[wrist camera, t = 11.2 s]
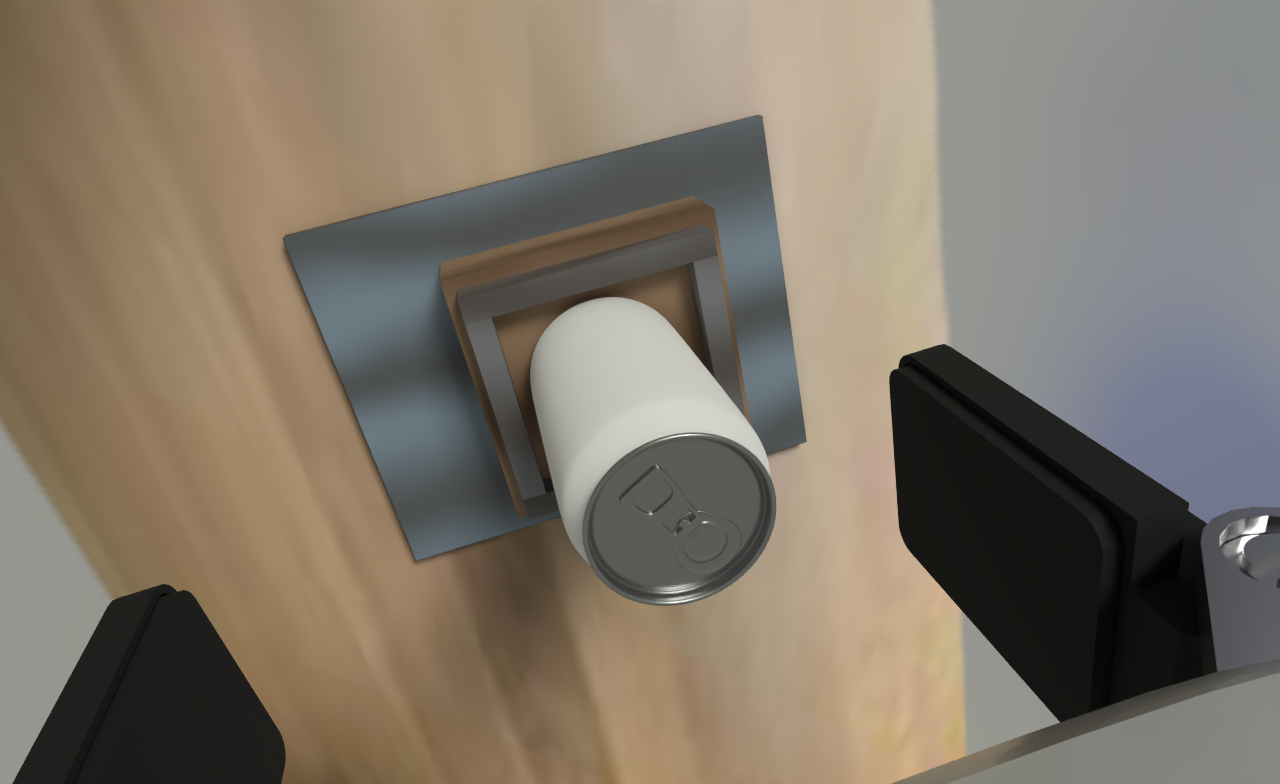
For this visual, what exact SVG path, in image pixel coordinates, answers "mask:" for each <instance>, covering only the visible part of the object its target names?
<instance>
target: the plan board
mask: <svg viewBox="0 0 1280 784" xmlns="http://www.w3.org/2000/svg"><path fill="white" fill-rule="evenodd" d="M283 241H284V243H285V246H286V248H287V251H288V253H289V255H290V258H291V260H292V263H293V265H294V267H295V270H296V272H297V275H298V277H299V279H300V282H301V284H302V287H303V289H304V291H305V294H306V296H307V299H308V301H309V303H310V306H311V308H312V311H313V313H314V316H315V318H316V320H317V323H318V325H319V328H320V330H321V332H322V335H323V337H324V340H325V342H326V344H327V347H328V349H329V352H330V354H331V356H332V359H333V361H334V364H335V366H336V369H337V371H338V373H339V376H340V378H341V381H342V383H343V385H344V388H345V390H346V393H347V395H348V397H349V400H350V402H351V405H352V407H353V409H354V412H355V414H356V417H357V419H358V421H359V424H360V426H361V429H362V431H363V434H364V436H365V438H366V441H367V443H368V446H369V448H370V450H371V453H372V455H373V458H374V460H375V462H376V465H377V467H378V470H379V472H380V474H381V477H382V479H383V482H384V484H385V487H386V489H387V491H388V494H389V496H390V499H391V501H392V503H393V506H394V508H395V511H396V513H397V515H398V518H399V520H400V523H401V525H402V527H403V530H404V532H405V535H406V537H407V539H408V542H409V544H410V547H411V549H412V552H413V554H414V556H415V559H416V561H417V560H420V559H423V558H427V557H430V556H433V555H436V554H440V553H443V552H446V551H450V550H453V549H456V548H459V547H463V546H466V545H469V544H473V543H476V542H479V541H482V540H486V539H489V538H492V537H496V536H499V535H502V534H505V533H509V532H512V531H515V530H519V529H522V528H525V527H528V526H532V525H535V524H538V523H542V522H545V521H548V520H551V519H555V518H558V517H561V514H560V511H559V507H558V503H557V499H556V495H555V491H554V487H553V482H552V478H551V474H550V470H549V466H548V462H547V457H546V453H545V449H544V445H543V441H542V436H541V432H540V428H539V423H538V419H537V415H536V410H535V406H534V401H533V397H532V391H531V385H530V366H531V360H532V356H533V353H534V350H535V347H536V345H537V343H538V341H539V339H540V337H541V336H542V334H543V333H544V331H545V330H546V329H547V328H548V326H549V325H550V324H551V323H552V322H553V321H554V320H555V319H556V318H557V317H559V316H560V315H561V314H562V313H564V312H565V311H567V310H568V309H570V308H572V307H574V306H576V305H578V304H580V303H583V302H586V301H589V300H592V299H597V298H604V297H620V298H627V299H631V300H635V301H638V302H641V303H643V304H645V305H647V306H649V307H651V308H652V309H654V310H655V311H657V312H658V313H659V314H661V315H662V316H663V317H664V318H665V319H666V320H667V321H668V322H669V323H670V324H671V325H672V327H673V328H674V329H675V330H676V331H677V333H678V334H679V335H680V336H681V337H682V339H683V340H684V341H685V342H686V344H687V345H688V346H689V347H690V349H691V350H692V351H693V352H694V354H695V355H696V356H697V357H698V359H699V360H700V361H701V362H702V364H703V365H704V366H705V367H706V369H707V370H708V371H709V372H710V374H711V375H712V376H713V377H714V379H715V380H716V381H717V382H718V384H719V385H720V386H721V387H722V389H723V390H724V391H725V392H726V394H727V395H728V396H729V398H730V399H731V400H732V401H733V403H734V404H735V405H736V406H737V408H738V409H739V410H740V412H741V413H742V414H743V416H744V417H745V418H746V419H747V421H748V422H749V424H750V425H751V426H752V428H753V429H754V431H755V432H756V434H757V436H758V437H759V439H760V441H761V443H762V445H763V447H764V450H765V452H766V454H768V453H772V452H775V451H778V450H782V449H785V448H788V447H791V446H795V445H798V444H801V443H805V442H807V441H806V434H805V426H804V419H803V412H802V404H801V397H800V390H799V382H798V375H797V368H796V360H795V353H794V346H793V338H792V331H791V324H790V316H789V309H788V302H787V294H786V287H785V280H784V272H783V265H782V258H781V250H780V243H779V236H778V228H777V221H776V214H775V206H774V199H773V192H772V184H771V177H770V170H769V162H768V155H767V148H766V140H765V133H764V126H763V118H762V116H759V115H755V116H751V117H747V118H744V119H740V120H736V121H732V122H728V123H724V124H720V125H716V126H712V127H708V128H704V129H700V130H696V131H693V132H689V133H685V134H681V135H677V136H673V137H669V138H665V139H661V140H657V141H653V142H649V143H645V144H642V145H638V146H634V147H630V148H626V149H622V150H618V151H614V152H610V153H606V154H602V155H598V156H594V157H591V158H587V159H583V160H579V161H575V162H571V163H567V164H563V165H559V166H555V167H551V168H547V169H543V170H540V171H536V172H532V173H528V174H524V175H520V176H516V177H512V178H508V179H504V180H500V181H496V182H493V183H489V184H485V185H481V186H477V187H473V188H469V189H465V190H461V191H457V192H453V193H449V194H445V195H442V196H438V197H434V198H430V199H426V200H422V201H418V202H414V203H410V204H406V205H402V206H398V207H394V208H391V209H387V210H383V211H379V212H375V213H371V214H367V215H363V216H359V217H355V218H351V219H347V220H343V221H340V222H336V223H332V224H328V225H324V226H320V227H316V228H312V229H308V230H304V231H300V232H296V233H292V234H289V235H285V236H284V237H283Z"/></svg>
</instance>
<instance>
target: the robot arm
mask: <svg viewBox="0 0 1280 784" xmlns="http://www.w3.org/2000/svg"><path fill="white" fill-rule="evenodd" d="M889 384H890V399H891V414H892V429H893V444H894V459H895V474H896V489H897V504H898V520H899V529H900V532H901V536H902V538H903V541H904V543H905V545H906V546H907V548H908V549H909V551H910V552H911V553H912V554H913V556H914V557H915V558H916V559H917V560H918V561H919V562H920V564H921V565H922V566H923V567H924V568H925V569H926V570H927V571H928V573H929V574H930V575H931V576H932V577H933V578H934V579H935V581H936V582H937V583H938V584H939V585H940V586H941V587H942V589H943V590H944V591H945V592H946V593H947V594H948V595H949V596H950V598H951V599H952V600H953V601H954V602H955V603H956V604H957V606H958V607H959V608H960V609H961V610H962V611H963V612H964V613H965V615H966V616H967V617H968V618H969V619H970V620H971V621H972V623H973V624H974V625H975V626H976V627H977V628H978V629H979V630H980V632H981V633H982V634H983V635H984V636H985V637H986V638H987V640H988V641H989V642H990V643H991V644H992V645H993V646H994V648H995V649H996V650H997V651H998V652H999V653H1000V654H1001V656H1002V657H1003V658H1004V659H1005V660H1006V661H1007V662H1008V663H1009V665H1010V666H1011V667H1012V668H1013V669H1014V670H1015V671H1016V673H1017V674H1018V675H1019V676H1020V677H1021V678H1022V679H1023V680H1024V682H1025V683H1026V684H1027V685H1028V686H1029V687H1030V688H1031V690H1032V691H1033V692H1034V693H1035V694H1036V695H1037V696H1038V698H1039V699H1040V700H1041V701H1042V702H1043V703H1044V704H1045V705H1046V707H1047V708H1048V709H1049V710H1050V711H1051V712H1052V713H1053V715H1054V716H1055V717H1056V718H1057V719H1058V720H1059V721H1060V723H1058V724H1055V725H1052V726H1050V727H1046V728H1044V729H1040V730H1038V731H1035V732H1032V733H1029V734H1026V735H1023V736H1020V737H1017V738H1014V739H1012V740H1009V741H1006V742H1004V743H1001V744H998V745H995V746H993V747H990V748H987V749H985V750H982V751H979V752H976V753H974V754H971V755H968V756H965V757H963V758H960V759H957V760H954V761H952V762H949V763H946V764H944V765H941V766H938V767H935V768H933V769H930V770H927V771H924V772H922V773H919V774H916V775H914V776H911V777H908V778H905V779H903V780H900V781H897V782H894V783H892V784H1280V508H1279V507H1248V508H1243V509H1236V510H1230V511H1228V512H1226V513H1223V514H1221V515H1219V516H1216V517H1214V518H1213V519H1212V520H1211V521H1210V522H1209V523H1208V524H1207V523H1205V522H1204V521H1202V520H1201V519H1199V518H1198V517H1196V516H1195V515H1193V514H1192V513H1190V512H1189V511H1188V508H1189V503H1188V502H1187V501H1185V500H1184V499H1182V498H1180V497H1179V496H1178V495H1176V494H1175V493H1173V492H1172V491H1170V490H1168V489H1167V488H1165V487H1164V486H1162V485H1161V484H1159V483H1158V482H1156V481H1155V480H1153V479H1152V478H1150V477H1149V476H1147V475H1145V474H1144V473H1143V472H1141V471H1139V470H1138V469H1136V468H1135V467H1133V466H1132V465H1130V464H1129V463H1127V462H1126V461H1124V460H1123V459H1121V458H1120V457H1118V456H1117V455H1115V454H1113V453H1112V452H1110V451H1109V450H1107V449H1106V448H1104V447H1103V446H1101V445H1100V444H1098V443H1097V442H1095V441H1093V440H1092V439H1090V438H1089V437H1087V436H1086V435H1084V434H1083V433H1081V432H1080V431H1078V430H1077V429H1075V428H1074V427H1072V426H1071V425H1069V424H1068V423H1066V422H1065V421H1063V420H1061V419H1060V418H1058V417H1057V416H1055V415H1054V414H1052V413H1051V412H1049V411H1048V410H1046V409H1045V408H1043V407H1042V406H1040V405H1038V404H1037V403H1035V402H1034V401H1032V400H1031V399H1029V398H1028V397H1026V396H1025V395H1023V394H1022V393H1020V392H1019V391H1017V390H1015V389H1014V388H1013V387H1011V386H1009V385H1008V384H1006V383H1005V382H1003V381H1002V380H1000V379H999V378H997V377H996V376H994V375H993V374H991V373H990V372H988V371H987V370H985V369H983V368H982V367H980V366H979V365H977V364H976V363H974V362H973V361H971V360H970V359H968V358H967V357H965V356H963V355H962V354H960V353H959V352H957V351H956V350H954V349H953V348H951V347H950V346H947V345H945V344H942V345H937V346H934V347H931V348H928V349H924V350H921V351H918V352H915V353H911V354H908V355H905V356H903V357H902V358H901V359H900V363H899V369H895V370H893V371H892V372H891V374H890V380H889ZM285 758H286V757H285V746H284V742H283V739H282V736H281V734H280V732H279V730H278V728H277V727H276V725H275V724H274V722H273V720H272V719H271V717H270V716H269V714H268V712H267V711H266V709H265V708H264V706H263V705H262V703H261V701H260V700H259V698H258V697H257V695H256V693H255V692H254V690H253V689H252V687H251V686H250V684H249V682H248V681H247V679H246V678H245V676H244V674H243V673H242V671H241V670H240V668H239V667H238V665H237V663H236V662H235V660H234V659H233V657H232V655H231V654H230V652H229V651H228V649H227V648H226V646H225V644H224V643H223V641H222V640H221V638H220V636H219V635H218V633H217V632H216V630H215V629H214V627H213V625H212V624H211V622H210V621H209V619H208V617H207V616H206V614H205V613H204V611H203V609H202V608H201V606H200V605H199V603H198V602H197V600H196V598H195V597H194V596H193V595H192V594H191V593H190V592H188V591H185V590H182V591H179V592H177V591H176V590H175V589H174V588H173V587H171V586H170V585H165V584H162V585H159V586H156V587H152V588H149V589H146V590H143V591H139V592H136V593H133V594H130V595H126V596H123V597H120V598H117V599H115V600H113V601H112V602H111V603H110V604H109V606H108V607H107V609H106V611H105V612H104V615H103V616H102V618H101V620H100V622H99V624H98V625H97V627H96V629H95V631H94V633H93V635H92V637H91V639H90V640H89V642H88V644H87V646H86V648H85V650H84V652H83V653H82V655H81V657H80V659H79V661H78V663H77V665H76V666H75V668H74V670H73V672H72V674H71V676H70V678H69V679H68V681H67V683H66V685H65V687H64V689H63V691H62V693H61V695H60V696H59V698H58V700H57V702H56V704H55V706H54V707H53V709H52V711H51V713H50V715H49V717H48V718H47V720H46V722H45V724H44V726H43V728H42V730H41V731H40V733H39V735H38V737H37V739H36V741H35V743H34V744H33V746H32V748H31V750H30V752H29V754H28V756H27V757H26V760H25V761H24V763H23V765H22V767H21V769H20V771H19V772H18V774H17V776H16V778H15V780H14V782H13V784H281V782H282V777H283V772H284V766H285Z"/></svg>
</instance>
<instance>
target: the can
mask: <svg viewBox="0 0 1280 784" xmlns="http://www.w3.org/2000/svg"><path fill="white" fill-rule="evenodd" d="M530 385H531V391H532V397H533V401H534V406H535V410H536V415H537V419H538V423H539V428H540V432H541V436H542V441H543V445H544V449H545V453H546V457H547V462H548V466H549V470H550V474H551V478H552V482H553V487H554V491H555V495H556V499H557V503H558V507H559V511H560V514H561V517H562V521H563V524H564V527H565V530H566V532H567V534H568V536H569V539H570V541H571V543H572V544H573V546H574V547H575V549H576V550H577V552H578V553H579V554H580V555H581V557H582V558H583V559H584V560H585V561H586V562H587V563H588V564H590V565H591V567H592V569H593V570H594V572H595V573H596V575H597V576H598V577H599V578H600V580H601V581H602V582H603V583H604V584H605V585H606V586H608V587H609V588H610V589H611V590H613V591H614V592H616V593H618V594H619V595H621V596H623V597H625V598H627V599H630V600H632V601H635V602H639V603H643V604H648V605H656V606H673V605H681V604H687V603H691V602H695V601H699V600H702V599H704V598H707V597H709V596H712V595H714V594H716V593H718V592H720V591H722V590H723V589H725V588H727V587H728V586H730V585H731V584H733V583H734V582H735V581H737V580H738V579H739V578H740V577H741V576H743V575H744V574H745V573H746V572H747V571H748V570H749V569H750V568H751V567H752V565H753V564H754V563H755V562H756V561H757V559H758V558H759V557H760V555H761V554H762V552H763V550H764V549H765V547H766V545H767V543H768V541H769V538H770V536H771V533H772V530H773V527H774V523H775V517H776V496H775V490H774V486H773V483H772V480H771V478H770V470H769V463H768V459H767V455H766V452H765V450H764V447H763V445H762V443H761V441H760V439H759V437H758V436H757V434H756V432H755V431H754V429H753V428H752V426H751V425H750V424H749V422H748V421H747V419H746V418H745V417H744V416H743V414H742V413H741V412H740V410H739V409H738V408H737V406H736V405H735V404H734V403H733V401H732V400H731V399H730V398H729V396H728V395H727V394H726V392H725V391H724V390H723V389H722V387H721V386H720V385H719V384H718V382H717V381H716V380H715V379H714V377H713V376H712V375H711V374H710V372H709V371H708V370H707V369H706V367H705V366H704V365H703V364H702V362H701V361H700V360H699V359H698V357H697V356H696V355H695V354H694V352H693V351H692V350H691V349H690V347H689V346H688V345H687V344H686V342H685V341H684V340H683V339H682V337H681V336H680V335H679V334H678V333H677V331H676V330H675V329H674V328H673V327H672V325H671V324H670V323H669V322H668V321H667V320H666V319H665V318H664V317H663V316H662V315H661V314H659V313H658V312H657V311H655V310H654V309H652V308H651V307H649V306H647V305H645V304H643V303H641V302H638V301H635V300H631V299H627V298H620V297H604V298H597V299H592V300H589V301H586V302H583V303H580V304H578V305H576V306H574V307H572V308H570V309H568V310H567V311H565V312H564V313H562V314H561V315H560V316H559V317H557V318H556V319H555V320H554V321H553V322H552V323H551V324H550V325H549V326H548V328H547V329H546V330H545V331H544V333H543V334H542V336H541V337H540V339H539V341H538V343H537V345H536V347H535V350H534V353H533V356H532V360H531V366H530Z"/></svg>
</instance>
